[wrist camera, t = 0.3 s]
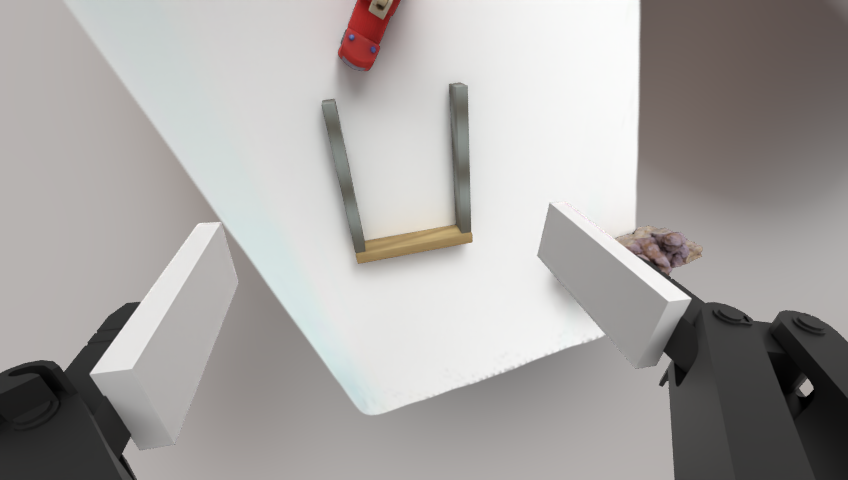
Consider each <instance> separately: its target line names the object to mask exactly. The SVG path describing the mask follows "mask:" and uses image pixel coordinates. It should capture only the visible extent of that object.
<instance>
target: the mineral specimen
mask: <svg viewBox="0 0 848 480" xmlns="http://www.w3.org/2000/svg"><path fill="white" fill-rule="evenodd" d="M615 240H616V241H617V242H619V243H620V244H621V245H623V246H624V247H625V248H627V249H628V250H629V251H630V252H632V253H633V254H635V255H637V256H640V257H642V258H644V259H646V260H648V261H650V262H651V263H653V264H654V265H655V266H657V267H658V268H659V269H661V272H665V273H666V274H667V275H668V276H669V273H670V272H671V271H672V268H674V267H679V266H682V265H684V264H688V263H690V262H691V261H693V260H695V259H697V258H700V257H702V255H701V252H702V247H701V246H700V245H697V244H696V243H695V242H692V241H689V240H687V239H686V238H685V236H684V234H683V233H680V232H672V231H671V230H669V229H666V228H662V229H657V228H654V227H651V226H646V227H638V228H637V229H636V231H635V232H634V234H627V235H624V236H620V237H617V238H616V239H615Z"/></svg>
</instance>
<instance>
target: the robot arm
mask: <svg viewBox="0 0 848 480" xmlns="http://www.w3.org/2000/svg"><path fill="white" fill-rule="evenodd" d="M537 256H538V257H539V258H540V259H541V261H542V262H543V263H544V264H545V265H546V266H547V268H548V269H549V270H550V271H551V272H552V273H553V274H554V276H555V277H556V278H557V279H558V280H559V281H560V283H561V284H562V285H563V286H564V287H565V288H566V289H567V291H568V292H569V293H570V294H571V295H572V296H573V297H574V299H575V300H576V301H577V302H578V303H579V304H580V306H581V307H582V308H583V309H584V310H585V311H586V312H587V314H588V315H589V316H590V317H591V318H592V319H593V321H594V322H595V323H596V324H597V325H598V326H599V327H600V329H601V330H602V331H603V332H604V333H605V334H606V336H607V337H608V338H609V339H610V340H611V341H612V342H613V344H614V345H615V346H616V347H617V348H618V349H619V351H620V352H621V353H622V354H623V355H624V356H625V357H626V359H627V360H628V361H629V362H630V363H631V364H632V366H633V367H634V368H635V369H639V368H644V367H651V366H656V365H657V363H658V361H659V359H660V357H661V356H662V354H663V352H665V353H666V354H667V355H668V356H669V357H670V358H671V359H672V361H671V362H670V364H669V366H668V368H667V369H666V371H665V373H664V375H663V377H662V378H661V380H660V383H659V385H660V386H663V385H664V384H665V382H666V381H669V394H670V395H669V396H670V411H671V428H672V444H673V460H674V477H675V480H848V342H847V341H846V340H845V339H844V338H843V337H842V336H841V335H840V334H839V333H838V332H837V331H836V330H834V329H833V328H832V327H831V326H829V325H828V324H826V323H825V322H823V321H821V320H820V319H818V318H816V317H814V316H811V315H809V314H806V313H800V312H796V311H787V310H785V311H782V312H779V314H778V315H777V317H776V318H775V319H774V321H773V322H772V323H768V322H759V321H753V319H751V318H750V317H749V316H748V315H746V314H745V313H743V312H742V311H740V310H738V309H736V308H734V307H731V306H728V305H725V304H721V303H715V302H711V303H704V302H703V301H702V300H700V299H699V298H698V297H696V296H695V295H694V294H692V293H691V292H690V291H688V290H687V289H686V288H684V287H683V286H682V285H680V284H679V283H678V282H676V281H675V280H674V279H671V277H670V276H668V275H667V274H666V273H665V272H661V269H659V268H658V267H657V266H655V265H654V264H653V263H651V262H650V261H648V260H646V259H644V258H642V257H640V256H637V255H635V254H633V253H632V252H630V251H629V250H628V249H627V248H625V247H624V246H623V245H621V244H620V243H619V242H617V241H616V240H615V239H614V238H612V237H611V236H610V235H608V234H607V233H606V232H604V231H603V230H602V229H601V228H599V227H598V226H597V225H595V224H594V223H593V222H591V221H590V220H589V219H588V218H586V217H585V216H584V215H582V214H581V213H580V212H578V211H577V210H576V209H575V208H573V207H572V206H571V205H569V204H568V203H567V202H551V203H550V204H549V208H548V212H547V216H546V221H545V225H544V229H543V234H542V238H541V242H540V247H539V251H538V255H537ZM238 283H239V282H238V278H237V276H236V271H235V269H234V265H233V261H232V258H231V254H230V251H229V247H228V244H227V240H226V237H225V233H224V230H223V226H222V223H221V222H212V223H198V224H197V226H196V227H195V228H194V230H193V231H192V233H191V234H190V235H189V237H188V238H187V240H186V241H185V242H184V244H183V245H182V247H181V248H180V249H179V251H178V252H177V254H176V255H175V256H174V258H173V259H172V260H171V262H170V263H169V265H168V266H167V267H166V269H165V270H164V271H163V273H162V274H161V276H160V277H159V278H158V280H157V281H156V283H155V284H154V285H153V287H152V288H151V289H150V291H149V292H148V294H147V295H146V296H145V298H144V299H143V301H142V302H134V303H126V304H125V305H124V306H122V307H121V308H119V309H118V310H117V311H115V312H114V313H113V314H111V315H110V316H108V318H107V319H106V320H105V322H104V323H103V324H102V325H101V327H100V328H99V329H98V330H97V333H95V334H94V335H93V336H92V338H91V339H90V340H89V341H88V345H87V346H85V347H84V348H83V349H82V350H81V351H80V353H79V354H78V355H77V357H76V358H75V359H74V360H73V362H72V363H71V364H70V365H69V367H68V368H67V369H66V370H65V371H64V372H63V370H62V369H61V368H60V366H59V365H57V364H56V363H55V362H53V361H44V360H40V361H34V362H28V363H24V364H21V365H19V366H16V367H13V368H10V369H8V370H6V371H4V372H2V373H0V480H137V479H136V477H135V475H134V473H133V471H132V469H131V468H130V466H129V464H128V462H127V460H126V459H125V458H124V456H123V455H122V452H123V450H124V448H125V447H126V445H127V442H128V441H129V439H130V437H131V438H132V439H133V441H134V443H135V444H136V445H137V447H138V448H139V450H145V449H151V448H157V447H163V446H169V445H175V443H176V440H177V438H178V435H179V432H180V430H181V427H182V425H183V422H184V420H185V417H186V415H187V412H188V410H189V407H190V405H191V402H192V400H193V397H194V395H195V392H196V389H197V387H198V384H199V382H200V379H201V377H202V374H203V372H204V369H205V367H206V364H207V362H208V359H209V357H210V354H211V351H212V349H213V346H214V344H215V341H216V339H217V336H218V333H219V331H220V329H221V326H222V323H223V321H224V318H225V316H226V313H227V311H228V308H229V306H230V303H231V301H232V298H233V296H234V293H235V291H236V288H237V285H238ZM807 378H808V379H809V380H810V382H811V384H812V385H813V388H814V390H813V391H812V392H811V393H810V394H809V395H808V396H807V397H806V396H804V394H803V393H802V392H801V391H800V389H799V387H800V386H801V385H802V384H803V383H804V382H805V380H806V379H807Z"/></svg>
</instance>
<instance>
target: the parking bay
mask: <svg viewBox="0 0 848 480" xmlns="http://www.w3.org/2000/svg"><path fill="white" fill-rule="evenodd" d="M449 86H450V106H451V127H452V147H453V168H454V188H455V209H456V225H451V226H445V227H440V228H434V229H429V230H423V231H418V232H412V233H407V234H401V235H396V236H390V237H385V238H379V239H374V240H368V241H364V236H363V232H362V227H361V222H360V217H359V212H358V208H357V203H356V198H355V193H354V188H353V184H352V179H351V174H350V169H349V165H348V160H347V155H346V150H345V145H344V141H343V136H342V131H341V126H340V121H339V117H338V112H337V107H336V102H335V99H330V100H323V102H322V108H323V112H324V117H325V121H326V126H327V130H328V134H329V139H330V143H331V147H332V152H333V156H334V161H335V165H336V169H337V174H338V178H339V182H340V187H341V191H342V196H343V200H344V204H345V209H346V213H347V217H348V222H349V226H350V230H351V235H352V239H353V244H354V248H355V252H356V258H357V263H358V264H360V263H365V262H370V261H376V260H381V259H386V258H392V257H397V256H402V255H407V254H413V253H418V252H423V251H429V250H434V249H439V248H445V247H450V246H455V245H460V244H466V243H471V242H472V233H471V209H470V167H469V126H468V86H467V85H465V84H462V83H454V84H449Z"/></svg>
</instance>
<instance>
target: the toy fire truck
mask: <svg viewBox="0 0 848 480" xmlns="http://www.w3.org/2000/svg"><path fill="white" fill-rule="evenodd" d="M400 1H401V0H357V2H356V5H355V7H354V10H353V13H352V15H351V18H350V21H349V24H348V28H347V30H346V31H345V33H344V35H343V38H342V41H341V47H340V48H339V51H338V55H339V57H340V58H341V59H342V60H343V61H344V62H345V63H346V64H347V65H348V66H349V67H351V68H353V69H355V70H359V71H368V70H369V69H370V68H371V67H372V65H373V63H374V61H375V59H376V56H377V54H378V52H379V49H380V46H379V43H380V41H381V39H382V36H383V34H384V31H385V29H386V26H387V24H388V22H389V19H390V17H391V16H393V14H394V12H395V10H396V9H397V7H398V4H399V3H400Z"/></svg>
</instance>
